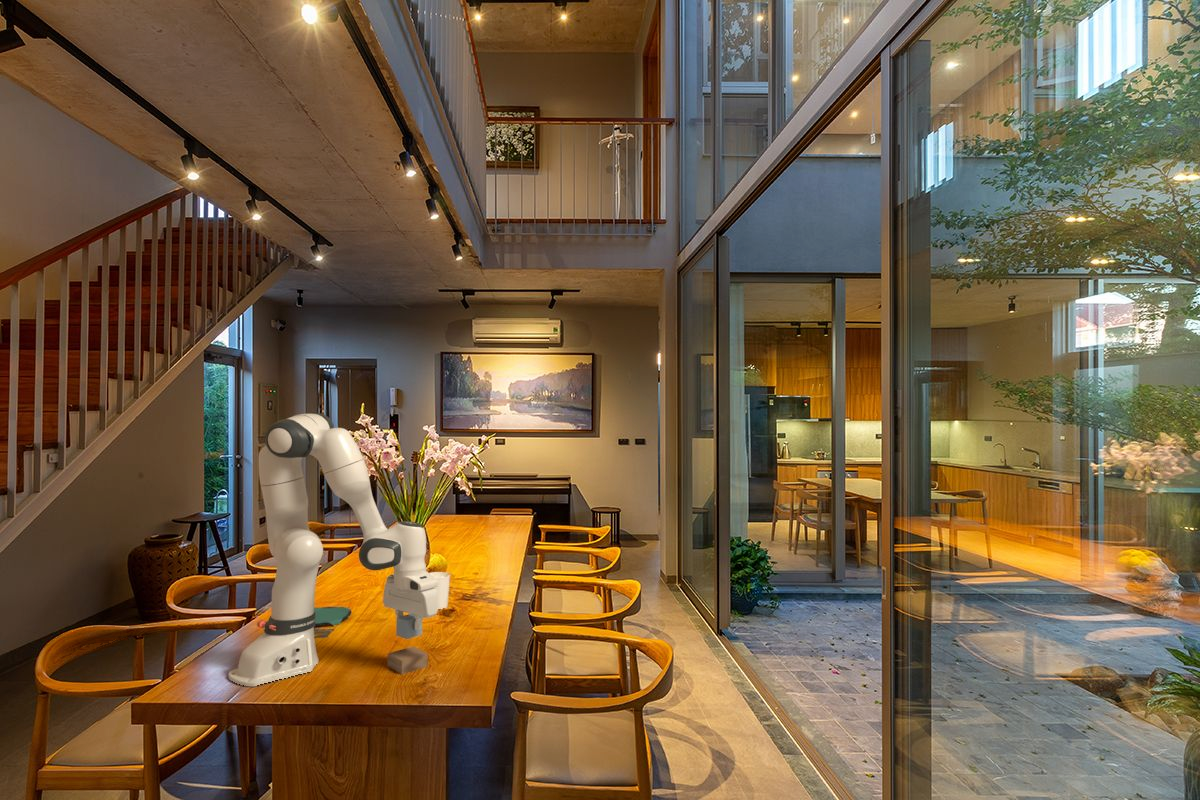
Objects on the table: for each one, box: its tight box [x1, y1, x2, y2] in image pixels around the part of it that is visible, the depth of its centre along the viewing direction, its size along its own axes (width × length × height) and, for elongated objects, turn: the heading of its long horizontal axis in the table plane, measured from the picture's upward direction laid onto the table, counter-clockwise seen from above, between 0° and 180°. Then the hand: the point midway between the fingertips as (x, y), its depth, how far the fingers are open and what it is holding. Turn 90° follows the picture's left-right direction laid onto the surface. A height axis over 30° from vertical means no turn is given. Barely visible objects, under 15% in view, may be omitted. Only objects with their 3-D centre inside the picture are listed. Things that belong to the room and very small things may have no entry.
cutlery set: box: [314, 606, 352, 638], centre depth 214 cm, size 20×30×2 cm, turn 7°
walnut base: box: [387, 646, 429, 675], centre depth 178 cm, size 8×8×4 cm
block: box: [395, 613, 423, 640], centre depth 178 cm, size 5×5×5 cm
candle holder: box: [428, 571, 451, 610], centre depth 236 cm, size 10×10×12 cm
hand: (409, 627), depth 178 cm, fingers closed on block, 5 cm apart
